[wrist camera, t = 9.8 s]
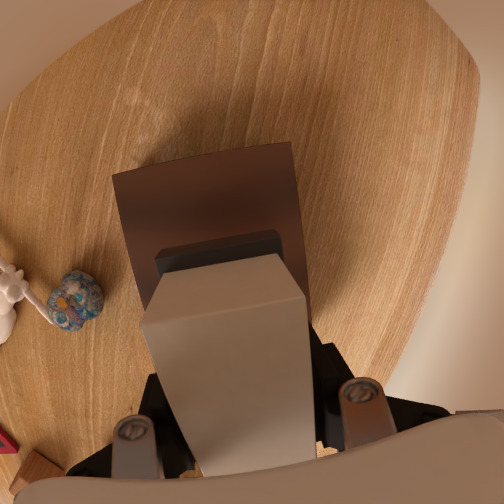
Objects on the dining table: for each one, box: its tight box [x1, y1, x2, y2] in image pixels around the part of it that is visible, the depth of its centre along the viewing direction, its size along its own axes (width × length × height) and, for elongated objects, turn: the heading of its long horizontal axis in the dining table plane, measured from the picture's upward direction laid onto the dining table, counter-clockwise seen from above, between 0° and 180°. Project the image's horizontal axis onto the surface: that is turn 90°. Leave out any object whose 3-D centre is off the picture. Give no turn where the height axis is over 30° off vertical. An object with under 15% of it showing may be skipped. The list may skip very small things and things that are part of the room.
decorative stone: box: [46, 270, 104, 331], centre depth 25 cm, size 6×4×5 cm
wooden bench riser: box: [112, 142, 312, 325], centre depth 25 cm, size 18×12×6 cm, turn 9°
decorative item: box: [9, 451, 65, 496], centre depth 31 cm, size 7×7×20 cm
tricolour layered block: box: [139, 229, 317, 477], centre depth 10 cm, size 10×4×5 cm, turn 9°
